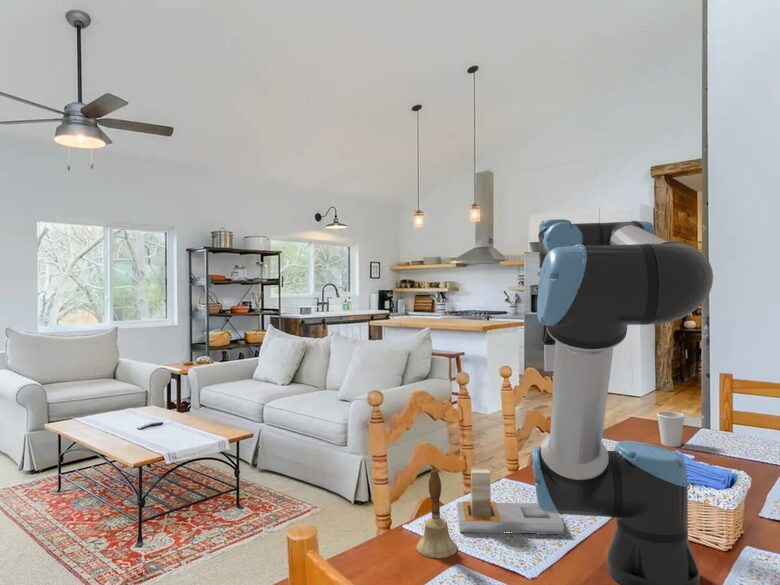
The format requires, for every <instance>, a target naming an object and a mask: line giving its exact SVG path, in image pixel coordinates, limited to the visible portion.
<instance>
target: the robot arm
mask: <svg viewBox="0 0 780 585" xmlns="http://www.w3.org/2000/svg"><path fill="white" fill-rule="evenodd" d="M537 236H538V256H539V271H537V272H536V275H537V277H539V280H538V286H537V287H538V288H537V289H538V293H537V299H536V314H537V315H536V316H537V320H538V322H539V323H540V324H541V325H543V327H542V337H541V340H542V342H543V345H544V346H543V347H544V348H543V349H544V351H543V352H544V353H543V355H544V372H553V379H552V380H553V381H552V396H551V414H550V429H549V430H550V432H549V434H547V435H546V436H545V437H544V438H543V440H542V443H541V445H540V446H537V447H534V448H533V449H532V451H531V453H532V454H531V457H532V458H531V459H532V470H533V477H534V483H535V492H536V499H537V504H539V507H540V508H541V509H542V510H543V511H545V512H550V513H558V514H559V516H562V515H563V516H564V515H568V516H569V515H570V516H587V517H604V518H605V517H606V518H615V519H616V528H615V531H614V533H613V537H612V539H611V541H610V545H609V547H608V549H607V553H606V568H607V569H606V570H607V572H608V573H609V575H610V577H612V578H613V580H615V581H616V582H617V583H619V584H620V585H701V582H700V581H701V580H700V579H701V574H700V570H699V567H698V564H697V563H698V562H697V560H696V558H695V556H694V553H693V549H692V547H691V544H690V541H689V521H688V520H689V518H688V517H689V516H688V515H689V512H688V511H689V510H688V502H689V501H688V500H689V499H688V492H689V491H688V490H689V489H688V487H689V486H690V484H689V480H688V479H689V478H688V470H687V469H688V468H687V463H686V462H685V460H684V459H683V458H682V456H680V455H679V454H678V453H676V452H674V451H671V450H670V449H667V448H665V447H661V446H658V445H656V444H653V443H652V444H651V443H647V442H642V441H635V440H624V441H623V440H621V441H618V442H617V443H616V444H615V446H614V450H608V449H607V448H606V446H605V444H604V443H603V442H602V441H603V435H604V434H603V433H604V426H605V425H604V424H605V418H606V411H607V410H606V408H607V401H608V393H609V388H610V386H609V385H610V379H611V371H612V362H613V356H614V348H615V347H616V346H618V345H620V344H621V343H622V342H623V341H624V340H625V338H626V337H627V333H628V326H629V325H632V326H638V325H639V326H640V325H643V326H644V325H646V326H647V325H662V324H668V323H672V322H674V321H677V320H680V319H684V318H685V317H686V316H688V315H690V314H692V313H693V312H695V311H696V310H697V309H698V308H699V307H700V306H701V305H702V304H703V303H704V302H705V301H706V299H707V298H708V296H709V294H710V292H711V291H712V286H713V282H714V273H713V267H712V266H711V263H710V261H709V259H708V257H706V255H705V254H704V253H703V252H702V251H701V250H699V249H698V248H696V247H694V246H692V245H690V244H688V243H686V242H681V241H677V240H668V241H667V240H664V239H663V238H661V237H659V236H657V235H656V230H655V227H654V225H653V223H652V222H649V221H645V220H643V221H639V220H630V221H617V222H587V223H586V222H584V223H580V222H579V223H572V221H571V220H568V219H562V218H561V219H547V220H543V221H541V222H540V223H539V226H538V234H537Z"/></svg>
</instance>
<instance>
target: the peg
mask: <svg viewBox="0 0 780 585" xmlns="http://www.w3.org/2000/svg"><path fill="white" fill-rule="evenodd" d="M490 470H491V469H490V468H489V466H485V465H484V466H479V465H478V466H477V465H476V466H475V465H473V466H472V465H471V466H470V501H471V516H491V502H492V500H491V499H492V498H491V496H492V495H491V471H490Z"/></svg>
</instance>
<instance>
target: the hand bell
mask: <svg viewBox="0 0 780 585" xmlns="http://www.w3.org/2000/svg"><path fill="white" fill-rule="evenodd" d="M441 481H442V480H441V478H440V474H439V471H438V469H436V468H434V469H431V471H430V475H429V479H428V494H429V497H430V500H431V518H428V519H426V521H425V524H424V525H425V526H424V531H423V536H422V537H421V539H419V541H418V542H417V544H416V547H415V548H416V551H417V553H419V554H420V555H421V556H424V557H425V558H430V559H446V558H450V557H451V556H454V555H455V554H456V553H457V552H458V545H457V544H456V542H455V541H454V540H453V539H452V538H451V535H450V533H449V532H450V531H449V527H448V522H447V520H446V519H444V518H441V511H440V509H441V508H440V498H441V494H442V493H441V492H442V482H441Z"/></svg>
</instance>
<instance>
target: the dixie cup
mask: <svg viewBox="0 0 780 585" xmlns="http://www.w3.org/2000/svg"><path fill="white" fill-rule="evenodd" d="M656 416H657V422H658V429H659V435H660V443H661V445H663V446H666V447H672V448H678V447H681V444H682V438H683V430H684V425H685V424H684V423H685V418H686V415H685V414H684V413H681V412H677V411H669V410H664V411H663V410H662V411H657V412H656Z"/></svg>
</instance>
